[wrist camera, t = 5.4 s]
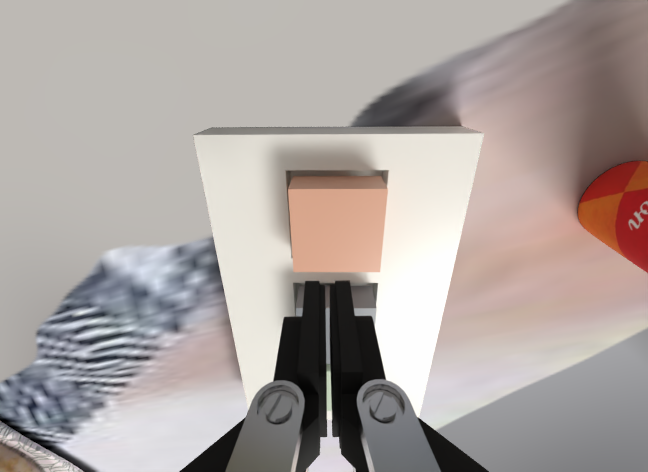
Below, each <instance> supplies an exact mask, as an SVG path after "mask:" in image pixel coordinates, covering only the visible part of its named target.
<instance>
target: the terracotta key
mask: <svg viewBox="0 0 648 472" xmlns="http://www.w3.org/2000/svg"><path fill="white" fill-rule="evenodd" d="M387 195H388V188H387V186H386V184H385V183H384V181H383V179H382V177H381V176H293V178H292V180H291V183H290V185H289V188H288V196H289V211H290V226H291V241H292V256H293V272H380V268H381V257H382V247H383V236H384V226H385V215H386V205H387Z"/></svg>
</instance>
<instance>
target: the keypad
mask: <svg viewBox="0 0 648 472" xmlns="http://www.w3.org/2000/svg"><path fill="white" fill-rule="evenodd" d="M483 137H484V133H481V132H478V131H475V130H472V129H469V128H466V127H463V126H410V127H241V128H210V129H207V130H204V131H202V132H200V133H197V134H194V135H193V138H194V144H195V148H196V153H197V158H198V163H199V168H200V173H201V178H202V183H203V188H204V193H205V198H206V203H207V208H208V213H209V218H210V223H211V228H212V233H213V238H214V243H215V248H216V253H217V258H218V262H219V267H220V272H221V277H222V282H223V287H224V292H225V297H226V302H227V307H228V312H229V317H230V322H231V327H232V332H233V337H234V342H235V347H236V352H237V357H238V362H239V367H240V372H241V376H242V381H243V386H244V391H245V396H246V401H247V406H248V410H249V408H250V405H251V402H252V400H253V398H254V396H255V395H256V393H257V392H258V391H259V390H260V389H261V388H262V387H263V386H265V385H266V384H268V383H270V382H273V379H274V373H275V367H276V361H277V355H278V348H279V342H280V336H281V330H282V324H283V319H284V317H290V316H296V304H297V297H298V290H299V286H305V281H320V285H325V286H330V284H335V281H341V280H350V285H351V286H372V289H373V294H374V298H375V303H376V308H377V310H376V320H375V331H376V335H377V340H378V345H379V349H380V354H381V358H382V363H383V367H384V372H385V377H386V380H387V381H391V382H393V383H395V384H396V385H398V386H399V387H400V388H401V389H402V390H404V391H405V393H406V395H407V396H408V398H409V400H410V402H411V404H412V407H413V409H414V411H415V414H416V416H417V417H418V418H419V415H420V411H421V406H422V402H423V398H424V393H425V389H426V385H427V380H428V376H429V372H430V367H431V363H432V358H433V354H434V350H435V345H436V341H437V337H438V332H439V328H440V324H441V319H442V315H443V311H444V306H445V302H446V298H447V293H448V289H449V285H450V280H451V276H452V272H453V267H454V263H455V259H456V254H457V250H458V246H459V241H460V237H461V233H462V228H463V224H464V220H465V215H466V211H467V207H468V202H469V198H470V193H471V189H472V185H473V180H474V176H475V172H476V167H477V163H478V159H479V154H480V150H481V146H482V141H483ZM293 176H381V177H382V179H383V181H384V183H385V184H386V186H387V188H388V195H387V205H386V215H385V226H384V236H383V247H382V257H381V268H380V272H293V256H292V241H291V226H290V211H289V196H288V188H289V185H290V183H291V180H292V178H293ZM327 420H332V411H327Z"/></svg>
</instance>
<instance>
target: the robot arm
mask: <svg viewBox="0 0 648 472" xmlns="http://www.w3.org/2000/svg"><path fill="white" fill-rule="evenodd" d="M330 370H331V403H332V435H333V437H339V443H340V449H341V454H342V455H343V456H344V457H345V458H346V460H347V461H348V462H349V463H350V464H351V465H352V466H353V472H489V471H487V470H486V469H485V468H484V467H482V466H481V465H480V464H478V463H477V462H476V461H474V460H473V459H472V458H470V457H469V456H468V455H467V454H465V453H464V452H463V451H461V450H460V449H459V448H457V447H456V446H455V445H454V444H452V443H451V442H449V441H448V440H447V439H446V438H444V437H443V436H442V435H440V434H439V433H438V432H437V431H435V430H434V429H433V428H431V427H430V426H429V425H427V424H426V423H425V422H423V421H422V420H421V419H420V418H418V417H417V416H416V414H415V411H414V409H413V407H412V404H411V402H410V400H409V398H408V396H407V395H406V393H405V391H404V390H402V389H401V388H400V387H399V386H398V385H396V384H395V383H393V382H391V381H387V380H386V377H385V372H384V367H383V363H382V358H381V354H380V349H379V345H378V340H377V335H376V331H375V326H374V322H373V318H372V316H355V313H354V306H353V299H352V292H351V285H350V280H341V281H335V284H330ZM320 437H327V365H326V305H325V285H320V281H305V288H304V300H303V312H302V316H290V317H284V319H283V324H282V330H281V336H280V342H279V348H278V355H277V361H276V367H275V373H274V379H273V382H270V383H268V384H266V385H265V386H263V387H262V388H261V389H260V390H259V391H258V392H257V393H256V395H255V396H254V398H253V400H252V402H251V405H250V408H249V410H248V413H247V416H246V417H245V418H244V419H243V420H242V421H241V422H239V423H238V424H237V425H236V426H235V427H233V428H232V429H231V430H230V431H228V432H227V433H226V434H225V435H224V436H222V437H221V438H220V439H219V440H217V441H216V442H215V443H214V444H213V445H211V446H210V447H209V448H208V449H207V450H205V451H204V452H203V453H202V454H200V455H199V456H198V457H197V458H196V459H194V460H193V461H192V462H191V463H189V464H188V465H187V466H186V467H185V468H183V469H182V470H181V471H180V472H308V467H309V466H310V465H311V464H312V462H313V461H314V460H315V459H316V458H317V457H318V456H319V455H320Z"/></svg>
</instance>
